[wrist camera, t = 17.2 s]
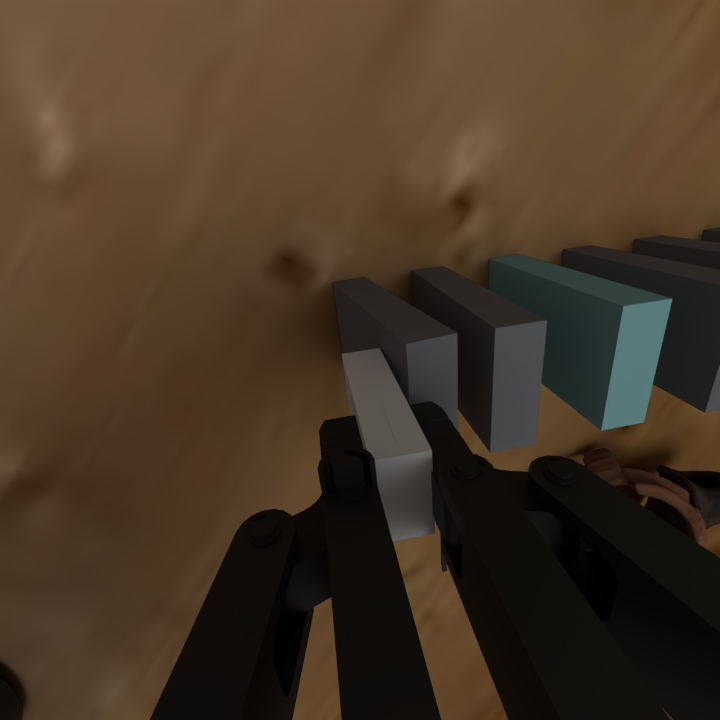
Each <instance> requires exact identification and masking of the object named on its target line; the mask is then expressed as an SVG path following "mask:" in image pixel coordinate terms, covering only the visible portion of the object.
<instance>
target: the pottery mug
mask: <svg viewBox="0 0 720 720" xmlns="http://www.w3.org/2000/svg"><path fill="white" fill-rule="evenodd" d="M583 462H584V464H585V466H584V467H586V468H587V469H589V470H590V471H592V472H593V473H595V474H596V475H597V476H599V477H600V478H602V479H603V480H605V481H606V482H608V483H609V484H611V485H612V486H618V485H630V486H631V487H632V488H633V489H634V490H635V492H636V493H637V494H638V495H645V496H648V500H647V503H646V505H645V508H646V509H648V510H649V511H651V512H652V513H654V514H655V515H657V516H658V517H660V518H661V519H663V520H664V521H666V522H667V523H669V524H670V525H672V526H673V527H675V528H676V529H677V530H679V531H680V532H682V533H683V534H685V535H686V536H688V537H689V538H691V539H692V540H694V541H695V542H697V543H698V544H700V545H701V546H703V547H704V548H706V549H707V533H706V529H707V528H710V527H712V526H714V525H717V524H720V472H713V471H677V470H674V469H671V468H669V467H666V466H663V465H658V466H657V468H656V469H657V471H658V473H659V476H657V475H654V474H652V473H649V472H647V471H643V470H640V469H634V468H626V467H624V468H621V467H620V466H619V464H618V462H617V461H616V460H615V458H614V457H613V453H612V452H611V451H609V450H607V449H605V448H603V449H598V450H594V451H590V452H587V453H585V455H584V459H583Z"/></svg>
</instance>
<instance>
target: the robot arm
mask: <svg viewBox="0 0 720 720" xmlns="http://www.w3.org/2000/svg"><path fill="white" fill-rule="evenodd" d="M342 360H343V368H344V375H345V382H346V389H347V396H348V404H349V411H350V416H347V417H341V418H335V419H329V420H325V421H324V423H323V424H322V426H321V428H320V430H319V435H320V447H321V458H322V459H321V460H320V462H319V465H318V474H319V479H320V484H321V489H322V494H321V496H320V497H319V499H318V500H317V501H316V502H315V503H314V504H313V505H312V506H311V507H309V508H307V509H306V510H304V511H302V512H300V513H298V514H296V515H294V516H291V515H290V514H288V513H287V512H285V511H283V510H277V509H271V510H264V511H261V512H259V513H257V514H254V515H252V516H251V517H250V518H248V519H247V520H246V521H245V522H243V523H242V525H241V526H240V527H239V529H238V530H237V532H236V534H235V536H234V538H233V540H232V542H231V545H230V547H229V549H228V551H227V553H226V555H225V558H224V560H223V562H222V564H221V566H220V568H219V571H218V573H217V575H216V577H215V579H214V581H213V584H212V586H211V588H210V590H209V592H208V594H207V597H206V599H205V601H204V603H203V605H202V607H201V610H200V612H199V614H198V616H197V618H196V621H195V623H194V625H193V627H192V629H191V631H190V634H189V636H188V638H187V640H186V642H185V644H184V647H183V649H182V651H181V653H180V655H179V657H178V660H177V662H176V664H175V666H174V668H173V670H172V673H171V675H170V677H169V679H168V681H167V684H166V686H165V688H164V690H163V692H162V694H161V697H160V699H159V701H158V703H157V705H156V707H155V710H154V712H153V714H152V716H151V718H150V720H292V718H293V713H294V708H295V703H296V698H297V693H298V688H299V683H300V678H301V673H302V667H303V662H304V657H305V652H306V647H307V642H308V637H309V632H310V627H311V622H312V617H313V612H314V607H315V606H317V605H318V604H320V603H322V602H324V601H325V600H327V599H329V598H330V597H331V598H332V610H333V622H334V634H335V646H336V657H337V669H338V681H339V693H340V705H341V717H342V720H441V717H440V714H439V710H438V706H437V703H436V699H435V695H434V692H433V688H432V684H431V681H430V677H429V673H428V670H427V666H426V662H425V659H424V655H423V651H422V647H421V644H420V640H419V636H418V633H417V629H416V625H415V622H414V618H413V614H412V611H411V607H410V603H409V600H408V596H407V592H406V589H405V585H404V581H403V578H402V574H401V570H400V567H399V563H398V559H397V555H396V552H395V548H394V544H393V542H394V541H399V540H404V539H409V538H414V537H419V536H424V535H429V534H434V533H435V521H436V524H437V526H438V529H439V531H440V536H441V565H442V571H447V565H448V568H449V570H450V573H451V575H452V578H453V580H454V583H455V585H456V588H457V590H458V593H459V595H460V598H461V601H462V603H463V606H464V608H465V611H466V613H467V616H468V618H469V621H470V623H471V626H472V628H473V631H474V634H475V636H476V639H477V641H478V644H479V646H480V649H481V651H482V654H483V656H484V659H485V661H486V664H487V667H488V669H489V672H490V674H491V677H492V679H493V682H494V684H495V687H496V689H497V692H498V694H499V697H500V700H501V702H502V705H503V707H504V710H505V712H506V715H507V717H508V720H670V719H669V718H668V716H667V715H666V714H665V712H664V711H663V709H662V708H661V706H662V707H663V708H664V709H665V710H666V712H667V713H668V714H669V715H670V716H671V717H672V718H673V719H674V720H720V558H719V557H717V556H716V555H715V554H713V553H712V552H710V551H709V550H707V549H706V548H704V547H703V546H701V545H700V544H698V543H697V542H695V541H694V540H692V539H691V538H689V537H688V536H686V535H685V534H683V533H682V532H680V531H679V530H677V529H676V528H675V527H673V526H672V525H670V524H669V523H667V522H666V521H664V520H663V519H661V518H660V517H658V516H657V515H655V514H654V513H652V512H651V511H649V510H648V509H646V508H645V507H643V506H642V505H640V504H639V503H637V502H636V501H635V500H633V499H632V498H630V497H629V496H627V495H626V494H624V493H623V492H621V491H620V490H618V489H617V488H615V487H614V486H612V485H611V484H609V483H608V482H606V481H605V480H603V479H602V478H600V477H599V476H597V475H596V474H595V473H593V472H592V471H590V470H589V469H587V468H586V467H584V466H583V465H581V464H579V463H577V462H575V461H573V460H571V459H568V458H564V457H561V456H543V457H539V458H537V459H535V460H534V461H532V462H531V464H530V467H529V471H528V472H521V471H506V470H499V469H495V468H494V467H493V466H492V464H491V463H489V462H488V461H487V460H486V459H485V458H483V457H481V456H479V455H477V454H473V453H472V452H471V450H470V449H469V447H468V446H467V444H466V443H465V441H464V440H463V438H462V437H461V435H460V434H459V432H458V431H457V429H456V428H455V427H454V425H453V423H452V422H451V420H450V419H449V417H448V415H447V414H446V412H445V411H444V409H443V408H442V407H440V406H438V405H437V404H435V403H434V402H432V401H428V402H422V403H417V404H411V405H409V404H408V402H407V400H406V399H405V397H404V395H403V393H402V391H401V389H400V387H399V385H398V383H397V381H396V379H395V377H394V375H393V373H392V371H391V369H390V367H389V365H388V363H387V361H386V360H385V358H384V356H383V354H382V352H381V350H380V348H376V349H370V350H363V351H357V352H351V353H344V354H342ZM659 704H660V705H661V706H660V705H659ZM22 716H23V711H22V706H21V703H20V700H19V698H18V697H17V695H16V693H15V692H14V691H13V690H12V689H11V687H10V686H9V685H8V684H6V683H5V682H4V681H3V680H2V679H0V720H22Z"/></svg>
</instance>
